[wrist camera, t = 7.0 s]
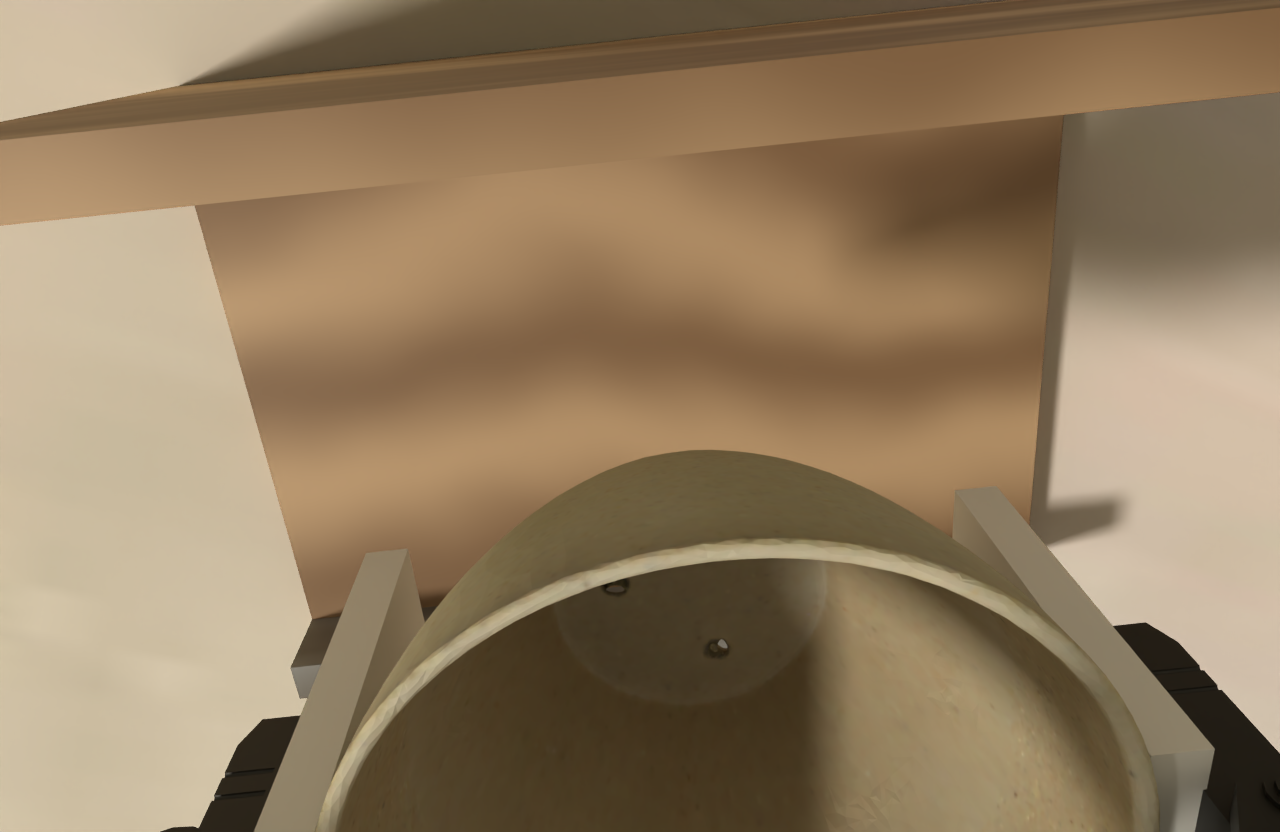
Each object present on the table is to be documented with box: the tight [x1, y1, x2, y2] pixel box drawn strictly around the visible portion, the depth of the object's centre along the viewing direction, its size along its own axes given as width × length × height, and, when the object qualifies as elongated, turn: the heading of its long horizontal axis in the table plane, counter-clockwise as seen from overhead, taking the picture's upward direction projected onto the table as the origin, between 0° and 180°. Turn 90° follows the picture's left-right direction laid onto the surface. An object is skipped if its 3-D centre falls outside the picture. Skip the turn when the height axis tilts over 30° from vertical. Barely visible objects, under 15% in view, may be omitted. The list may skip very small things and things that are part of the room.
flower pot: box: [316, 450, 1160, 832], centre depth 14 cm, size 10×10×7 cm
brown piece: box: [0, 0, 1280, 699], centre depth 23 cm, size 18×24×13 cm
